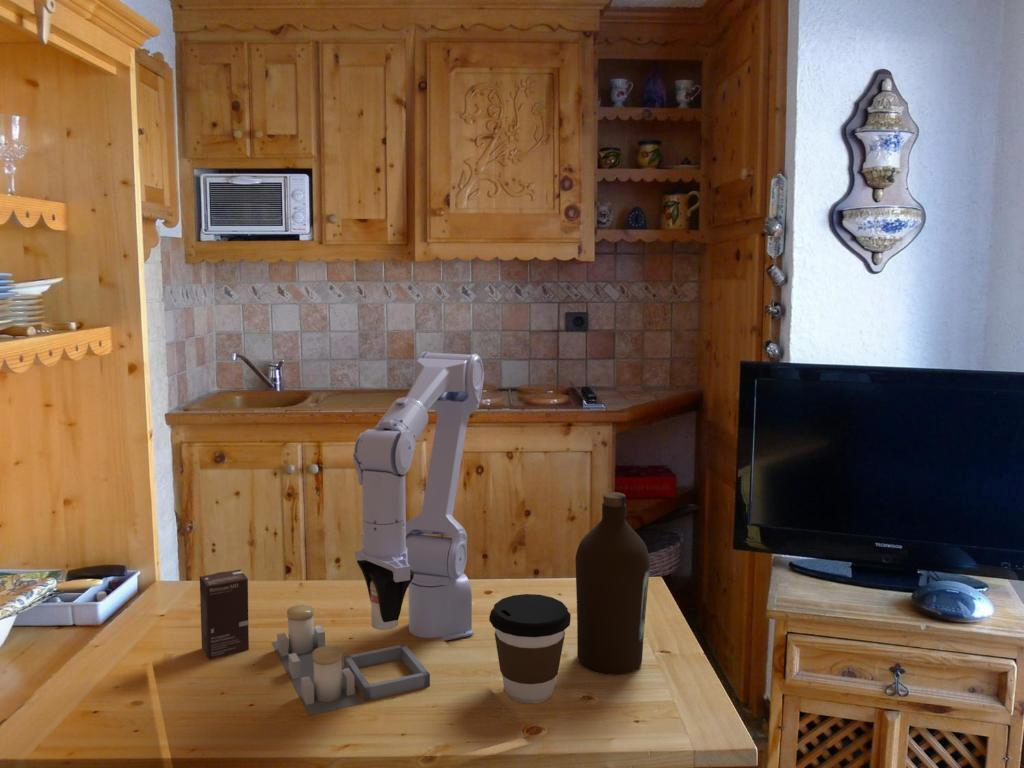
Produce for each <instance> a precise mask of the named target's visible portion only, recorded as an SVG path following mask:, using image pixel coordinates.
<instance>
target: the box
mask: <svg viewBox="0 0 1024 768" xmlns="http://www.w3.org/2000/svg"><path fill="white" fill-rule="evenodd" d="M248 580H249V579H248V577H247V575H246V574H245V573H244V572H243V571H242V570H241V568H240V569H236V570H235V569H233V570H229V571H221V572H215V573H212V574H207V575H202V576H199V595H200V598H199V599H200V626H201V627H200V631H201V650H202V652H203V653H204V655H205V656H206V657H207V660H208V661H209V660H213V659H218V658H221V657H226V656H230V655H233V654H237V653H242V652H246V651H249V650H250V649H249V648H250V645H249V643H250V641H249V639H250V636H249V632H250V631H249V581H248Z"/></svg>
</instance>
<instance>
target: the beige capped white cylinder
mask: <svg viewBox="0 0 1024 768" xmlns="http://www.w3.org/2000/svg"><path fill="white" fill-rule="evenodd" d="M314 615H315V611H314V607H313V606H312V605H309V604H297V605H293V606H291V607H288V608H287V609H286V617H287V633H288V636H287V638H288V639H289V651H290V652H291V653H296V654H305V653H308V652H310V651H312V650H313V649H314Z"/></svg>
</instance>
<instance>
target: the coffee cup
mask: <svg viewBox="0 0 1024 768" xmlns="http://www.w3.org/2000/svg"><path fill="white" fill-rule="evenodd" d="M571 614H572V613H570V612H569V608H568V607H567V605H565V604H564V603H563V602H562V601H561V600H559V599H556V598H555V597H552V596H549V595H548V596H547V595H543V594H531V593H524V594H515V595H509V596H507V597H504V598H502V599H500V600H499V601H497V602H496V603H494V605H493V607H492V609H491V611H490V613H489V619H488V620H489V622H490V624H491V626H492V627H493V628H494V629H495V630H494V638H495V645H496V652H497V657H498V658H497V659H498V665H499V671H500V672H501V675H502V681H503V682H502V683H503V688H504V690H505V692H506V694H507V695H508V698H510V699H512V700H513V701H515V702H518V703H520V704H530V705H531V704H539V703H542V702H544V701H547V700H548V699H549V698H550V697H551V695H552V694H553V692H554V689H555V683H556V678H557V676H558V674H559V669H560V664H561V663H560V662H561V657H562V652H563V646H564V642H565V641H564V640H565V635H566V631H565V630H566V629H568V627H570V626H571V620H572V619H571Z"/></svg>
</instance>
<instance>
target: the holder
mask: <svg viewBox="0 0 1024 768" xmlns="http://www.w3.org/2000/svg"><path fill="white" fill-rule="evenodd" d="M313 629H314V649H313V650H312V651H310V652H308V653H305V654H296V653H291V652H290V651H289V638H288V636H287V635H286V633H285V631H281V632H277V633H276V639H277V640H276V641H271V644H272V646H273V648H274V651H275V652H276V654H277V656H278V658H279V659H280V661H281V663H282V665H283V668H284V669H285V671H286V673H287V675H288V677H289V679H290V682H291V683H292V685H293V687H294V689H295V691H296V692H297V695H298V697H299V698H300V700H301V703H302V705H303V706H304V709H305V710H306V712H307V714H308V716H310V717H311V716H315V715H319V714H322V713H328V712H331V711H336V710H341V709H345V708H349V707H354V706H357V705H358V706H359V705H362V704H363V703H364V702H363V701H362V699H361V698H360V696H359V694H358V693H357V692H356V690H355V689H356V688H355V687H356V685H355V684H354V675H353V674H352V672H351V671H350V669H349V668H346V669H344V668H343V669H342V696H341V697H340V698H339V699H337V700H334V701H330V702H321V701H318V700H316V699H315V698H314V667H313V658H312V653H313V651H314V650H315V649H317V648H319V647H322V646H327V644H326V632H325V630H324V628H323V627H322V625H320V624H318V625H313ZM332 646H335V645H332Z"/></svg>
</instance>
